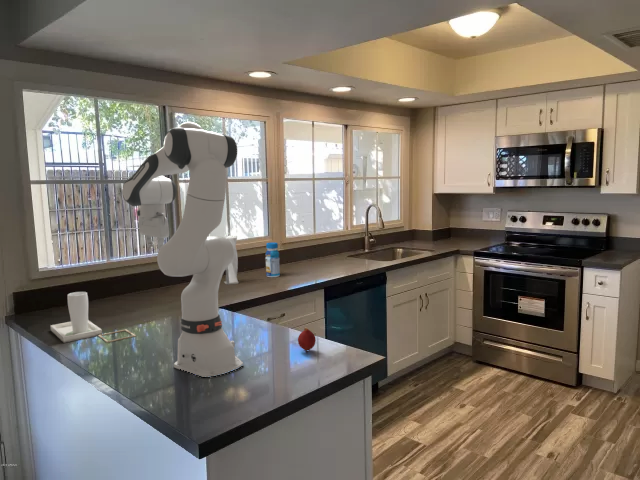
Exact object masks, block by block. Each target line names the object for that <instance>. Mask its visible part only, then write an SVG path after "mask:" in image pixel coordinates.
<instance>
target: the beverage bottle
mask: <svg viewBox="0 0 640 480" xmlns="http://www.w3.org/2000/svg"><path fill="white" fill-rule="evenodd" d="M278 245H279V243H278V242H266V246H265V247H266V248H265V249H267V250H266V252H265V258H264V261H265V275H266V277H268V278H278V277H280V276H281V274H280V273H281V272H280V271H281V270H280V259H281V258H280V252H279V251H278V248H279V246H278Z"/></svg>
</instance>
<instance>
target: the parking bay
mask: <svg viewBox="0 0 640 480" xmlns="http://www.w3.org/2000/svg"><path fill="white" fill-rule="evenodd" d="M122 332H126V333H127V334H129V336H125V337H120V338H116V339H111V340H108V339H106V338H105V337H104V336H109V335H112V334H117V333H122ZM98 337H99V339H101V340H102V341H104V342H105V343H107V344H108V343H113V342H118V341H121V340H125V339H130V338H135V337H137V335H136V334H134V333H133V332H132V331H130V330H128V329H126V328H125V329H121V330H118V331H117V330H115V331H112V332H107V333H102V335H98Z"/></svg>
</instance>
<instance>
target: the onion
mask: <svg viewBox="0 0 640 480" xmlns="http://www.w3.org/2000/svg"><path fill="white" fill-rule="evenodd" d="M297 342H298V345H299V347H300V348H301V349H303V351H305V350H309V351H310V350H312V349H313V348H314V347H315V345H316V343H317V342H316V335H315V333H314V332H312V330H310V329H309V328H308V327H304V330H303V331H301V332H300V334H299V335H298V337H297Z"/></svg>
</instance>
